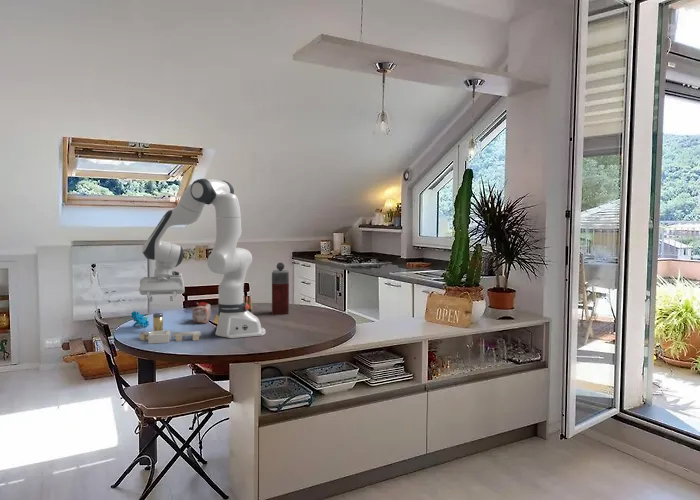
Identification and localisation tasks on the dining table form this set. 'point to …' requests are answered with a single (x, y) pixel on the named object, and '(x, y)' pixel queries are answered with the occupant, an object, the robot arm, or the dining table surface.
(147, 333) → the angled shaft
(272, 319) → the dining table surface
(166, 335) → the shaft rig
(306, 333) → the dining table surface
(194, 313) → the food item
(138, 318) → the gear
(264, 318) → the dining table surface
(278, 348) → the dining table surface
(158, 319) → the yellow jar
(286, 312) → the red grey bottle
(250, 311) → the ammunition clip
